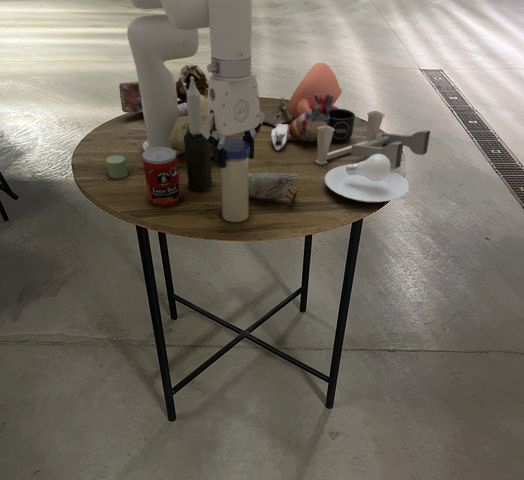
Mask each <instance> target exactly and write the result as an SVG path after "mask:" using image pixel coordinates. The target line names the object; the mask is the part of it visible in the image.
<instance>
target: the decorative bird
mask: <svg viewBox="0 0 524 480" xmlns="http://www.w3.org/2000/svg"><path fill="white" fill-rule="evenodd" d="M298 176H300V173H296V172H295V173H294V172H293V173H290V172H286V173H276V172H275V173H274V172H256V173H255V172H254V173H250V172H249V197H252V198H255V199H257V200H273V199H279V198H283V196H284V197H286V198H287V199H288V200H289V201H291V202H290V205H293V203H294V202H295V199H296V197H297V193H298V190H297V191H295V193H293V192H292V191H291V189H290V187H291V185H292V184H293V180H297V179H298ZM287 192H289V194H291V195H293V197H292V198H290V197H289V195H288V194H287Z"/></svg>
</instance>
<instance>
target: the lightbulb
mask: <svg viewBox="0 0 524 480" xmlns="http://www.w3.org/2000/svg"><path fill="white" fill-rule="evenodd" d="M347 165H348V166H347V168H346V171H347V173H348V175H355V174H356V175H360V176H365V177H367V178H368V179H370V180H372V181H381V180H383V179H385V178H386V177H387V176H388V174H389V172H390V170H392V169H391V164H390V161H389V159H388V158H387V157H386V156H385V155H383V154H374V155H372V156H370V157H367V158H366V159H364V160H362V161H358V162H356V163H348V164H347Z"/></svg>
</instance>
